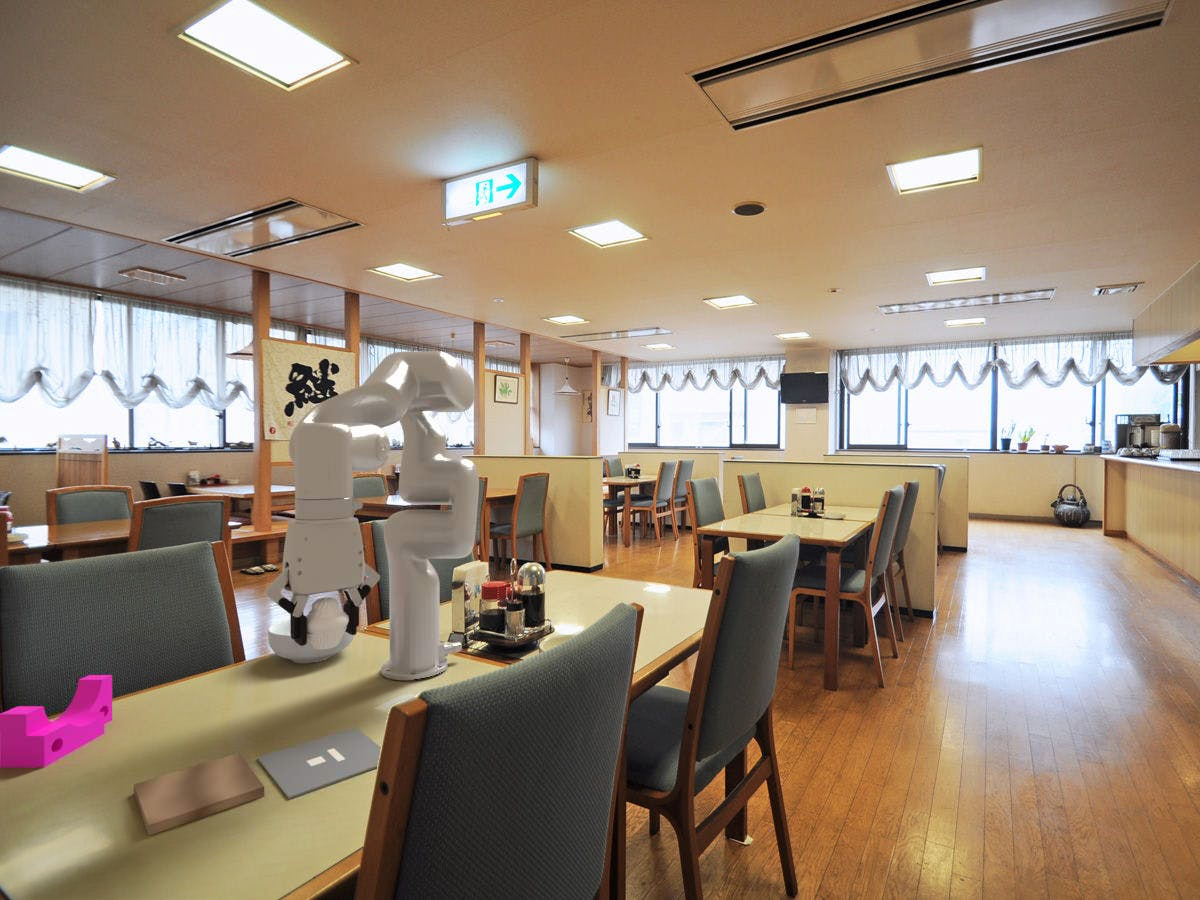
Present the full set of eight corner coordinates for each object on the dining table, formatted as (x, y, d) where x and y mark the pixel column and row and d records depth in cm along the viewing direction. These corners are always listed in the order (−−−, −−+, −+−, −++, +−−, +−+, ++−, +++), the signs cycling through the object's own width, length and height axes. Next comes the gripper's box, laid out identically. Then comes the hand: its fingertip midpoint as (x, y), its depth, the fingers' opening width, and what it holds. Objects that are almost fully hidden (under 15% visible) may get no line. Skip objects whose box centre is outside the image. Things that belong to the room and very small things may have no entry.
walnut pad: (239, 761, 89) (239, 752, 89) (264, 795, 80) (264, 786, 80) (133, 793, 81) (133, 784, 81) (148, 835, 72) (148, 825, 72)
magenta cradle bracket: (44, 768, 87) (44, 714, 87) (0, 768, 87) (-1, 714, 87) (127, 721, 102) (127, 675, 102) (89, 721, 102) (89, 675, 102)
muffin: (291, 650, 87) (291, 600, 87) (323, 637, 93) (322, 590, 93) (329, 655, 85) (328, 603, 85) (358, 641, 91) (358, 593, 91)
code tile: (355, 728, 99) (355, 726, 99) (395, 761, 89) (395, 759, 89) (257, 759, 89) (257, 756, 89) (288, 799, 79) (288, 796, 79)
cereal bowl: (372, 649, 138) (372, 617, 138) (315, 675, 122) (315, 639, 122) (311, 641, 144) (310, 610, 144) (248, 665, 128) (248, 631, 128)
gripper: (373, 504, 98) (374, 620, 98) (249, 513, 86) (250, 645, 86) (395, 508, 92) (395, 631, 92) (265, 518, 80) (266, 659, 80)
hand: (325, 636), depth 89 cm, fingers closed on muffin, 6 cm apart
